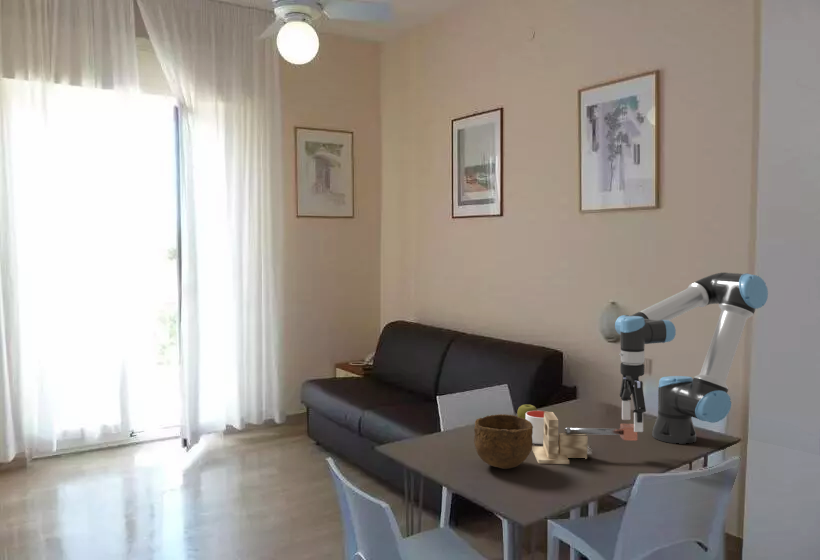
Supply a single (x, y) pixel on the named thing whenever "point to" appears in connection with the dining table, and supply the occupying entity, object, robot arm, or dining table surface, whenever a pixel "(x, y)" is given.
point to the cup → (536, 425)
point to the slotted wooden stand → (559, 444)
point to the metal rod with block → (607, 431)
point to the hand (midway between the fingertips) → (632, 425)
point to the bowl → (503, 440)
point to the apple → (525, 410)
